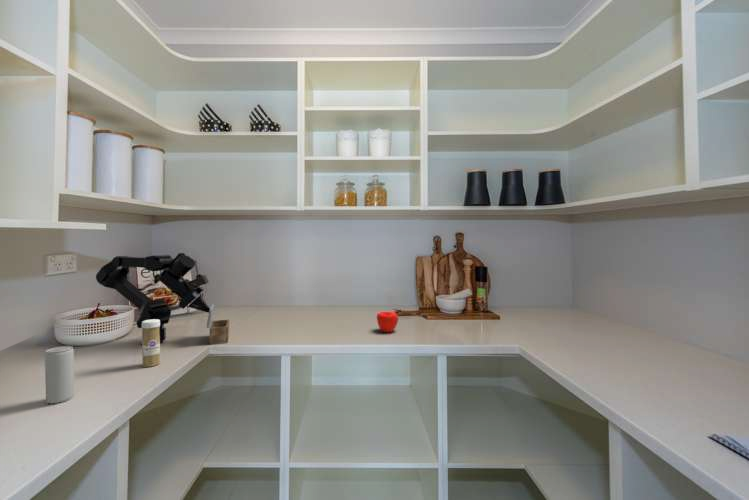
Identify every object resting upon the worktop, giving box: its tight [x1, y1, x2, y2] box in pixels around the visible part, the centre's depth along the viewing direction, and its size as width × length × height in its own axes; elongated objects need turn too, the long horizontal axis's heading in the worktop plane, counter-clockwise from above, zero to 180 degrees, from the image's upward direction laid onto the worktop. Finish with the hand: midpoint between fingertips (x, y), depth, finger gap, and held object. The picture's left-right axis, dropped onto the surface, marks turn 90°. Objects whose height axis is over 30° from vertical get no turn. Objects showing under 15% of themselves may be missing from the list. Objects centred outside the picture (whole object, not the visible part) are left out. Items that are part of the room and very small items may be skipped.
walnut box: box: [209, 319, 230, 345], centre depth 123 cm, size 6×12×6 cm, turn 22°
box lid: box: [205, 303, 216, 329], centre depth 122 cm, size 6×13×1 cm
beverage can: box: [44, 345, 75, 404], centre depth 75 cm, size 5×5×12 cm
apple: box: [376, 311, 399, 333], centre depth 136 cm, size 9×9×8 cm
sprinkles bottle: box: [141, 319, 161, 368], centre depth 97 cm, size 5×5×14 cm
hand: (210, 311), depth 122 cm, fingers closed, pressing on box lid
